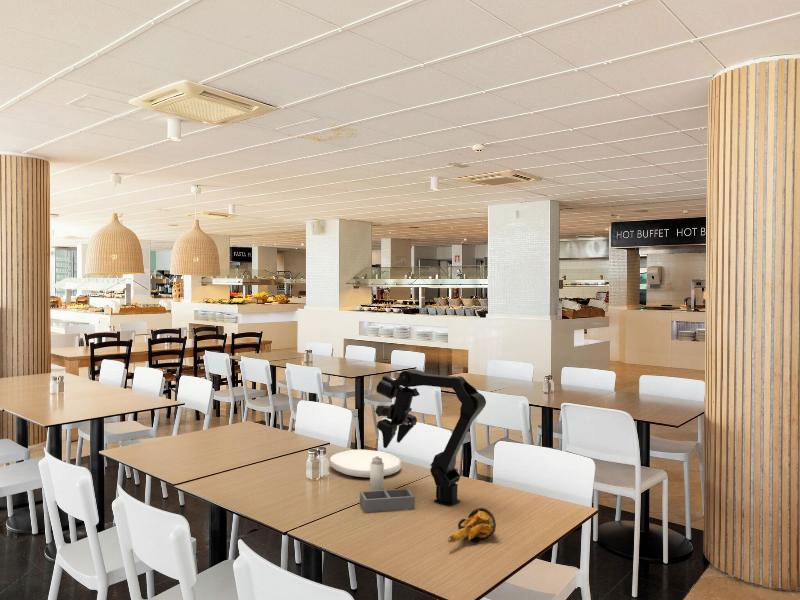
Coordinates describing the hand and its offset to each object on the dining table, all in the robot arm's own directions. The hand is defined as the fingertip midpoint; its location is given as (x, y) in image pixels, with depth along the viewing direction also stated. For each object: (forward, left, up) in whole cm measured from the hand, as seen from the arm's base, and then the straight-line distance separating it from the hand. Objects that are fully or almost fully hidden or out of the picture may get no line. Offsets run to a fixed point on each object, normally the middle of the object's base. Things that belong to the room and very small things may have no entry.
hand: (391, 444), depth 215 cm
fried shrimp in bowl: (-46, +18, -16) cm, 52 cm away
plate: (+23, -12, -17) cm, 31 cm away
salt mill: (0, +7, -16) cm, 18 cm away
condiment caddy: (-10, +13, -16) cm, 23 cm away
